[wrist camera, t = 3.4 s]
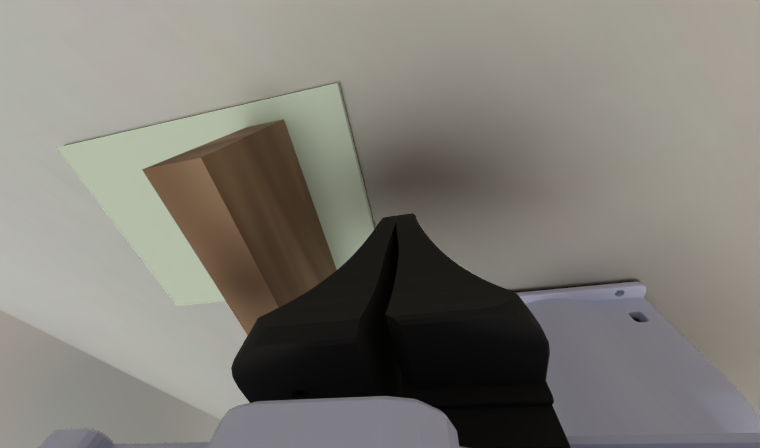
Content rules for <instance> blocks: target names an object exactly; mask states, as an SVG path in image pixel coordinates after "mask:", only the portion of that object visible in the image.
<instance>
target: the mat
mask: <svg viewBox="0 0 760 448" xmlns="http://www.w3.org/2000/svg"><path fill="white" fill-rule="evenodd" d="M282 119H284V121H285V124H286V127H287V130H288V132H289V135H290V138H291V141H292V144H293V147H294V150H295V152H296V155H297V158H298V161H299V164H300V167H301V169H302V172H303V175H304V178H305V181H306V184H307V187H308V189H309V192H310V195H311V198H312V201H313V204H314V207H315V209H316V212H317V215H318V218H319V221H320V224H321V226H322V229H323V232H324V235H325V238H326V241H327V244H328V246H329V249H330V252H331V255H332V258H333V261H334V263H335V266H336V269H337V270H338V269H339V268H340V267H341V266H342V265H343V264H344V263H346V262H347V261H348V260H349V259H350V258H351V257H352V256H353V255H354V253H355V252H356V251H357V250H358V249H359V248H360V247H361V246H362V245H363V243H364V242H365V241H366V240H367V238H368V237H369V236H370V234H371V233H372V232H373V230H374V229H375V227H374V223H373V219H372V215H371V211H370V207H369V203H368V199H367V195H366V191H365V186H364V182H363V178H362V174H361V170H360V166H359V162H358V158H357V154H356V150H355V146H354V142H353V138H352V133H351V129H350V125H349V121H348V117H347V113H346V109H345V105H344V101H343V97H342V93H341V89H340V85H339V83H334V84H330V85H326V86H321V87H317V88H313V89H308V90H304V91H300V92H295V93H291V94H287V95H282V96H278V97H274V98H269V99H265V100H261V101H256V102H252V103H248V104H243V105H239V106H235V107H230V108H226V109H222V110H217V111H213V112H209V113H204V114H200V115H196V116H191V117H187V118H183V119H178V120H174V121H170V122H165V123H161V124H157V125H152V126H148V127H144V128H139V129H135V130H131V131H126V132H122V133H118V134H113V135H109V136H105V137H100V138H96V139H92V140H87V141H83V142H79V143H74V144H70V145H66V146H61V147H57V149H58V151H59V152H60V153H61V155H62V156H63V157H64V159H65V160H66V161H67V162H68V164H69V165H70V166H71V168H72V169H73V170H74V172H75V173H76V174H77V176H78V177H79V178H80V180H81V181H82V182H83V183H84V185H85V186H86V187H87V189H88V190H89V191H90V193H91V194H92V195H93V197H94V198H95V199H96V200H97V202H98V203H99V204H100V206H101V207H102V208H103V210H104V211H105V212H106V214H107V215H108V216H109V218H110V219H111V220H112V221H113V223H114V224H115V225H116V227H117V228H118V229H119V231H120V232H121V233H122V235H123V236H124V237H125V238H126V240H127V241H128V242H129V244H130V245H131V246H132V248H133V249H134V250H135V252H136V253H137V254H138V256H139V257H140V258H141V259H142V261H143V262H144V263H145V265H146V266H147V267H148V269H149V270H150V271H151V273H152V274H153V275H154V277H155V278H156V279H157V280H158V282H159V283H160V284H161V286H162V287H163V288H164V290H165V291H166V292H167V294H168V295H169V296H170V297H171V299H172V300H173V301H174V303H175V304H176V305H177V306H183V305H193V304H202V303H212V302H221V301H226V300H225V299H224V297H223V296H222V294H221V293H220V291H219V289H218V288H217V286H216V285H215V283H214V282H213V280H212V278H211V277H210V275H209V274H208V272H207V271H206V269H205V268H204V266H203V264H202V263H201V261H200V260H199V258H198V257H197V255H196V253H195V252H194V250H193V249H192V247H191V246H190V244H189V242H188V241H187V239H186V238H185V236H184V235H183V233H182V232H181V230H180V228H179V227H178V225H177V224H176V222H175V221H174V219H173V217H172V216H171V214H170V213H169V211H168V210H167V208H166V206H165V205H164V203H163V202H162V200H161V199H160V197H159V196H158V194H157V192H156V191H155V189H154V188H153V186H152V185H151V183H150V181H149V180H148V178H147V177H146V175H145V174H144V172H143V170H142V169H145V168H147V167H150V166H152V165H155V164H157V163H159V162H162V161H164V160H167V159H169V158H172V157H174V156H177V155H179V154H182V153H184V152H187V151H189V150H192V149H194V148H197V147H199V146H201V145H204V144H206V143H209V142H211V141H214V140H216V139H219V138H221V137H224V136H226V135H229V134H231V133H234V132H236V131H239V130H241V129H244V128H246V127H250V126H255V125H259V124H264V123H269V122H273V121H278V120H282Z"/></svg>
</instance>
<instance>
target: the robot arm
mask: <svg viewBox="0 0 760 448" xmlns="http://www.w3.org/2000/svg"><path fill="white" fill-rule="evenodd" d="M646 291H647V288H646V286H645V285H644V284H643V283H641V282H626V283H616V284H605V285H594V286H583V287H573V288H562V289H551V290H540V291H530V292H519V293H514V292H512V291H509V290H507V289H504V288H502V287H499V286H497V285H494V284H492V283H489V282H487V281H485V280H483V279H481V278H479V277H477V276H475V275H474V274H472V273H470V272H469V271H467V270H465V269H464V268H462V267H461V266H459V265H458V264H456V263H455V262H454V261H452V260H451V259H450V258H449V257H447V256H446V255H445V254H444V253H443V252H442V251H441V250H440V249H439V248H438V247H437V246H436V245H435V244H434V243H433V242H432V241H431V240H430V239H429V237H428V236H427V235H426V234H425V232H424V231H423V230H422V228H421V227H420V225H419V223H418V221H417V219H416V216H415V215H414V214H413V213H412V214H405V215H399V216H392V217H385V218H382V220H381V221H380V222H379V224H378V225H377V226H376V228H375V229H374V230H373V232H372V233H371V234H370V236H369V237H368V238H367V240H366V241H365V242H364V243H363V245H362V246H361V247H360V248H359V249H358V250H357V251H356V252H355V253H354V255H353V256H352V257H351V258H350V259H349V260H348V261H347V262H346V263H344V264H343V265H342V266H341V267H340V268H339V269H338V270H336V271H335V272H334V273H333V274H331V275H330V276H329V277H327V278H326V279H325V280H323V281H322V282H321V283H319V284H318V285H317V286H315V287H314V288H312V289H310V290H309V291H307V292H306V293H304V294H303V295H301V296H299V297H298V298H296V299H294V300H292V301H291V302H289V303H287V304H285V305H283V306H281V307H279V308H277V309H275V310H273V311H271V312H269V313H267V314H265V315H263V316H261V317H259V318H258V319H257V320H256V322H255V324H254V326H253V327H252V329H251V331H250V333H249V334H248V336H247V338H246V340H245V341H244V343H243V345H242V347H241V348H240V350H239V352H238V354H237V355H236V357H235V359H234V362H233V364H232V367H231V368H232V375H233V378H234V380H235V382H236V384H237V386H238V388H239V389H240V390H241V391H242V393H243V394H244V395H245V397H246V398H247V399H248V401H249V402H250V403H248V404H244V405H239V406H236V407H234V408H232V409H229V410H228V412H227V413H226V414H225V416H224V417H223V418H222V420H221V421H220V423H219V425H218V426H217V428H216V430H215V432H214V434H213V437H212V439H211V440H210V442H179V443H178V442H174V443H118V444H117V443H116V444H115V443H113V441H112V440H111V439H110V438H109V437H108V436H106V435H105V434H103V433H101V432H100V431H97V430H94V429H88V428H78V429H58V430H55V431H53V432H52V433H51V434H50V435H49V436H48V437H47V438H46V440H45V441H44V442H43V443H42V444H41V445H40V446H39V447H38V448H760V417H759V415H758V414H757V413H756V411H755V410H754V408H753V407H752V406H751V404H750V403H749V402H748V401H747V399H746V398H745V397H744V396H743V395H742V393H741V392H740V391H739V390H738V389H737V388H736V387H735V386H734V385H733V384H732V383H731V382H730V381H729V380H728V379H727V378H726V377H725V376H724V375H723V374H722V373H721V372H720V371H719V370H718V369H717V368H716V367H715V366H714V365H713V364H712V363H711V362H710V361H709V360H708V359H707V358H706V357H705V356H703V355H702V354H701V353H700V352H699V351H698V350H697V349H696V348H695V347H694V346H693V345H692V344H691V343H690V342H689V341H688V340H687V339H686V338H685V337H684V336H683V335H682V334H681V333H680V332H679V331H678V330H677V329H676V328H675V327H674V326H673V325H672V324H671V323H670V322H668V321H667V320H666V319H665V318H664V317H663V316H662V315H661V314H660V313H659V312H658V311H657V310H656V309H655V308H654V307H653V306H652V305H651V304H650V303H649V302H648V301H647V300H646V299H645V298H644V297H645V294H646Z"/></svg>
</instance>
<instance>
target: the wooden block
mask: <svg viewBox="0 0 760 448" xmlns="http://www.w3.org/2000/svg"><path fill="white" fill-rule="evenodd" d="M142 170H143V172H144V174H145V175H146V177H147V178H148V180H149V181H150V183H151V185H152V186H153V188H154V189H155V191H156V192H157V194H158V196H159V197H160V199H161V200H162V202H163V203H164V205H165V206H166V208H167V210H168V211H169V213H170V214H171V216H172V217H173V219H174V221H175V222H176V224H177V225H178V227H179V228H180V230H181V232H182V233H183V235H184V236H185V238H186V239H187V241H188V242H189V244H190V246H191V247H192V249H193V250H194V252H195V253H196V255H197V257H198V258H199V260H200V261H201V263H202V264H203V266H204V268H205V269H206V271H207V272H208V274H209V275H210V277H211V278H212V280H213V282H214V283H215V285H216V286H217V288H218V289H219V291H220V293H221V294H222V296H223V297H224V299H225V300H226V302H227V304H228V305H229V307H230V308H231V310H232V311H233V313H234V314H235V316H236V318H237V319H238V321H239V322H240V324H241V325H242V327H243V329H244V330H245V332H246V333H247V335H248V334H249V333H250V331H251V329H252V327H253V326H254V324H255V322H256V320H257V319H258V318H259V317H261V316H263V315H265V314H267V313H269V312H271V311H273V310H275V309H277V308H279V307H281V306H283V305H285V304H287V303H289V302H291V301H292V300H294V299H296V298H298V297H299V296H301V295H303V294H304V293H306V292H307V291H309V290H310V289H312V288H314V287H315V286H317V285H318V284H319V283H321V282H322V281H323V280H325V279H326V278H327V277H329V276H330V275H331V274H333V273H334V272H335V271H336V270H337V269H336V266H335V263H334V261H333V258H332V255H331V252H330V249H329V246H328V244H327V241H326V238H325V235H324V232H323V229H322V226H321V224H320V221H319V218H318V215H317V212H316V209H315V207H314V204H313V201H312V198H311V195H310V192H309V189H308V187H307V184H306V181H305V178H304V175H303V172H302V169H301V167H300V164H299V161H298V158H297V155H296V152H295V150H294V147H293V144H292V141H291V138H290V135H289V132H288V130H287V127H286V124H285V121H284V119H282V120H278V121H273V122H269V123H264V124H259V125H255V126H250V127H246V128H244V129H241V130H239V131H236V132H234V133H231V134H229V135H226V136H224V137H221V138H219V139H216V140H214V141H211V142H209V143H206V144H204V145H201V146H199V147H197V148H194V149H192V150H189V151H187V152H184V153H182V154H179V155H177V156H174V157H172V158H169V159H167V160H164V161H162V162H159V163H157V164H155V165H152V166H150V167H147V168H145V169H142Z"/></svg>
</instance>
